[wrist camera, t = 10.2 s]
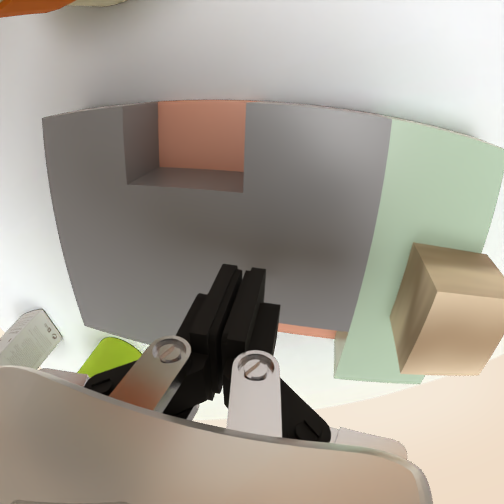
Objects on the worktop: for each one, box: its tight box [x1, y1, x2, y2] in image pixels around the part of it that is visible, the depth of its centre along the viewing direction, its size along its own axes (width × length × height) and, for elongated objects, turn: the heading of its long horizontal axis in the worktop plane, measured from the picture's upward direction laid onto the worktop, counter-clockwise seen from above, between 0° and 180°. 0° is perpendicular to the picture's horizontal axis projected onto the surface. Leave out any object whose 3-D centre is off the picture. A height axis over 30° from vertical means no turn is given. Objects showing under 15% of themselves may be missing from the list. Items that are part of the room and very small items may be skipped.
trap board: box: [42, 100, 504, 384], centre depth 17 cm, size 15×24×4 cm, turn 88°
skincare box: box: [0, 309, 62, 369], centre depth 25 cm, size 6×4×12 cm
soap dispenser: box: [77, 337, 142, 378], centre depth 20 cm, size 6×7×20 cm
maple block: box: [390, 242, 504, 376], centre depth 12 cm, size 4×4×4 cm
